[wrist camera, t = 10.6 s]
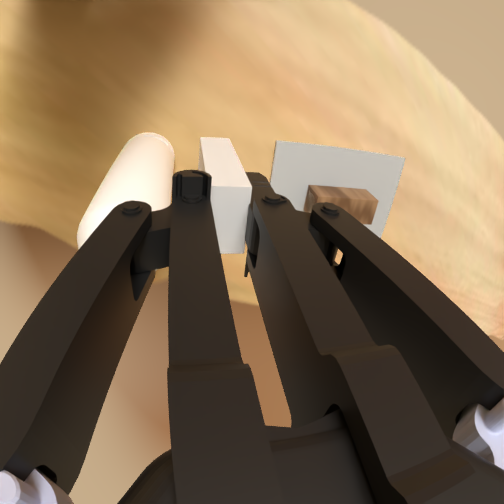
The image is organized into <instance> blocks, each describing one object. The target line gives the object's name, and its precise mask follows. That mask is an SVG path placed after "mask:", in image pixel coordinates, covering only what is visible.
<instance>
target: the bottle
mask: <svg viewBox="0 0 504 504" xmlns="http://www.w3.org/2000/svg"><path fill="white" fill-rule="evenodd" d="M174 160H175V155H174V150H173V147H172V146H171V144H170V143H169V141H168V140H167V139H165V138H164V137H163V136H161V135H159V134H156V133H151V132H144V133H140V134H137V135H135V136H134V137H132V138H131V139H129V140H128V142H127V143H126V144H125V145H124V147H123V148H122V150H121V152H120V153H119V155H118V156H117V158H116V160H115V161H114V163H113V164H112V166H111V168H110V169H109V171H108V173H107V174H106V176H105V178H104V180H103V181H102V183H101V185H100V187H99V188H98V190H97V192H96V194H95V195H94V197H93V199H92V201H91V203H90V205H89V206H88V208H87V210H86V212H85V214H84V216H83V218H82V220H81V222H80V224H79V228H78V232H77V243H78V250H79V249H80V247H81V246H82V245H83V244H84V242H85V241H86V240H87V239H88V238H89V236H90V235H91V234H92V233H93V232H94V230H95V229H96V228H97V227H98V226H99V224H100V223H101V222H102V221H103V220H104V219H105V217H106V216H107V215H108V214H109V213H110V212H111V210H112V209H113V208H114V207H116V206H117V205H118V204H121V203H124V202H125V201H131V200H134V201H142V202H146V203H148V204H149V205H150V206H151V208H152V211H157V210H161V209H164V208H166V207H168V206H170V204H171V192H172V176H173V170H174ZM156 270H157V269H156ZM156 270H155V272H156Z"/></svg>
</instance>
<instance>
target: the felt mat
mask: <svg viewBox="0 0 504 504" xmlns="http://www.w3.org/2000/svg"><path fill="white" fill-rule="evenodd" d="M404 162H405V158H403V157H398V156H393V155H387V154H381V153H375V152H369V151H362V150H356V149H349V148H341V147H334V146H326V145H317V144H308V143H299V142H288V141H277V140H276V145H275V152H274V159H273V165H272V172H271V179H270V185H271V187H272V188H273V190H274V192H275V193H276V194H280V195H282V196H285V197H286V198H288V199H289V200H290V202H291V203H292V205H293V206H294V208H295V209H296V210H298V211H303V212H305V211H304V210H303V209H304V204H305V200H306V195H307V190H308V185H320V186H333V187H346V188H357V189H366V190H367V191H369V192H370V193H371V194H372V195H373V196H374V197H375V198H376V199H377V200H378V201H379V202H378V205H377V208H376V212H375V215H374V218H373V221H372V224H371V225H368V224H363V225H364V226H366V227H367V228H368V229H369V230H371V231H372V232H373V233H374V234H376V235H377V236H378V237H379V238H381V236H382V233H383V230H384V227H385V224H386V221H387V218H388V215H389V212H390V209H391V206H392V203H393V199H394V196H395V193H396V190H397V186H398V183H399V180H400V176H401V173H402V169H403V166H404Z"/></svg>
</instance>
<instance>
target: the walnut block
mask: <svg viewBox="0 0 504 504" xmlns="http://www.w3.org/2000/svg"><path fill="white" fill-rule="evenodd" d="M319 202H323V203H324V202H329V203H333V204H335V205H337V206H339V207H341V208H342V209H344V210H345V211H347V212H348V213H349V214H351V215H352V216H353V217H354V218H356V219H357V220H358V221H359V222H361V223H362V224H368V225H371V224H372V221H373V218H374V215H375V212H376V208H377V205H378V202H379V201H378V200H377V199H376V198H375V197H374V196H373V195H372V194H371V193H370V192H369V191H367V190H366V189H357V188H346V187H333V186H320V185H308V190H307V195H306V200H305V204H304V209H303V210H304V211H305V212H308V213H311V210H312V206H313V205H314V204H315V203H319Z"/></svg>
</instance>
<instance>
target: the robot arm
mask: <svg viewBox="0 0 504 504" xmlns="http://www.w3.org/2000/svg"><path fill="white" fill-rule="evenodd" d="M245 241H246V244H247V247H248V250H247V257H246V265H245V273H244V277H247V275H248V272H249V271H250V275H251V278H252V282H253V285H254V289H255V292H256V296H257V299H258V303H259V306H260V310H261V313H262V317H263V320H264V324H265V327H266V331H267V334H268V337H269V341H270V344H271V348H272V351H273V355H274V358H275V361H276V365H277V368H278V372H279V375H280V378H281V382H282V385H283V389H284V392H285V396H286V399H287V403H288V406H289V409H290V413H291V420H292V425H291V428H290V427H276V426H265V423H264V419H263V415H262V411H261V407H260V403H259V399H258V395H257V391H256V386H255V382H254V378H253V375H252V371H251V368H250V367H249V365H248V364H244V363H243V361H242V358H241V353H240V349H239V344H238V339H237V334H236V330H235V325H234V320H233V315H232V310H231V305H230V300H229V295H228V290H227V285H226V280H225V275H224V270H223V264H222V259H221V254H235V253H244V250H245ZM338 249H339V250H340V251H342V253H343V256H342V259H341V262H340V264H339V265H338V264H337V263H336V262H335V261H334V260H335V257H336V254H337V251H338ZM164 267H169V288H168V289H169V290H168V292H169V294H168V338H169V368H168V371H167V379H168V404H169V421H170V436H171V449H170V450H169V451H167V452H165V453H163V454H162V455H160V456H159V457H158V458H156V459H155V460H154V461H153V462H152V463H151V464H150V465H149V466H147V467H146V469H145V470H144V471H143V472H142V473H141V474H140V476H139V477H138V478H137V480H136V481H135V482H134V483H133V485H132V486H131V487H130V488H129V490H128V491H127V492H126V493H125V495H124V496H123V497H122V498H121V500H120V501H119V502H118V503H117V504H504V352H503V351H502V350H500V348H499V347H498V346H497V345H496V344H495V343H494V342H493V341H492V340H491V339H490V338H489V337H488V336H487V335H486V334H485V333H484V332H483V331H482V330H481V329H480V328H479V327H478V326H477V325H476V324H475V323H474V322H473V321H472V320H471V319H470V318H469V317H468V316H467V315H466V314H465V313H464V312H463V311H462V310H461V309H460V308H459V307H458V306H457V305H456V304H455V303H453V302H452V301H451V300H450V299H449V298H448V297H447V296H446V295H445V294H444V293H443V292H442V291H441V290H439V289H438V288H437V287H436V286H435V285H434V284H433V283H432V282H431V281H430V280H428V279H427V278H426V277H425V276H424V275H423V274H422V273H421V272H419V271H418V270H417V269H416V268H415V267H414V266H413V265H411V264H410V263H409V262H408V261H407V260H406V259H404V258H403V257H402V256H401V255H400V254H399V253H397V252H396V251H395V250H394V249H393V248H391V247H390V246H389V245H388V244H387V243H385V242H384V241H383V240H382V239H381V238H379V237H378V236H377V235H376V234H374V233H373V232H372V231H371V230H369V229H368V228H367V227H366V226H364V225H363V224H362V223H361V222H359V221H358V220H357V219H356V218H354V217H353V216H352V215H351V214H349V213H348V212H347V211H345V210H344V209H342V208H341V207H339V206H337V205H335V204H333V203H329V202H324V203H323V202H319V203H315V204H314V205H313V206H312V210H311V213H308V212H303V211H298V210H296V209H295V208H294V206H293V205H292V203H291V202H290V200H289V199H288V198H286V197H285V196H282V195H280V194H276V193H275V192H274V190H273V188H272V187H271V185H270V183H269V182H268V180H267V178H266V177H265V176H263V175H262V174H260V173H254V172H245V171H244V169H243V167H242V164H241V162H240V160H239V158H238V156H237V154H236V152H235V150H234V148H233V146H232V144H231V141H230V139H229V138H213V137H200V148H199V165H198V170H184V171H179V172H177V173H175V174H174V175H173V176H172V204H171V205H170V206H168V207H166V208H164V209H161V210H157V211H152V208H151V206H150V205H149V204H148V203H146V202H142V201H134V200H131V201H125V202H124V203H121V204H118V205H117V206H116V207H114V208H113V209H112V210H111V212H110V213H109V214H108V215H107V216H106V217H105V219H104V220H103V221H102V222H101V223H100V224H99V226H98V227H97V228H96V229H95V230H94V232H93V233H92V234H91V235H90V236H89V238H88V239H87V240H86V241H85V242H84V244H83V245H82V246H81V247H80V249H79V250H78V251H77V253H76V254H75V255H74V257H73V258H72V259H71V260H70V261H69V263H68V264H67V265H66V267H65V268H64V269H63V271H62V272H61V273H60V275H59V276H58V277H57V279H56V280H55V281H54V283H53V284H52V285H51V287H50V288H49V290H48V291H47V293H46V294H45V295H44V297H43V298H42V299H41V301H40V302H39V304H38V305H37V307H36V308H35V310H34V311H33V313H32V314H31V316H30V317H29V319H28V320H27V322H26V323H25V325H24V326H23V328H22V329H21V331H20V332H19V334H18V336H17V337H16V339H15V341H14V342H13V344H12V345H11V347H10V348H9V350H8V352H7V353H6V355H5V357H4V359H3V360H2V362H1V364H0V504H74V503H73V502H72V500H71V498H70V497H69V496H68V495H69V493H70V492H71V490H72V488H73V486H74V483H75V482H76V480H77V478H78V476H79V474H80V470H81V468H82V465H83V463H84V460H85V457H86V454H87V451H88V448H89V445H90V441H91V439H92V435H93V432H94V429H95V427H96V423H97V420H98V417H99V415H100V412H101V409H102V406H103V403H104V401H105V398H106V395H107V392H108V390H109V387H110V384H111V381H112V379H113V376H114V374H115V371H116V368H117V366H118V363H119V361H120V358H121V356H122V353H123V351H124V348H125V346H126V343H127V341H128V338H129V336H130V333H131V331H132V328H133V326H134V323H135V321H136V319H137V316H138V314H139V312H140V309H141V307H142V305H143V302H144V300H145V298H146V295H147V293H148V291H149V289H150V287H151V284H152V282H153V280H154V278H155V270H156V269H160V268H164Z"/></svg>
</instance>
